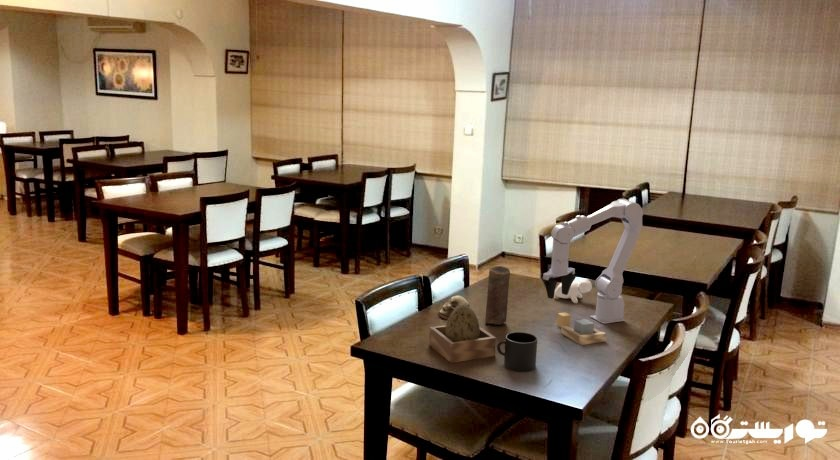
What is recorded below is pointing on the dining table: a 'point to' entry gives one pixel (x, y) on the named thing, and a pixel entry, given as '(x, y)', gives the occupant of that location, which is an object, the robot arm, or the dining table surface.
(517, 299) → the dining table surface
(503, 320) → the candle
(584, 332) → the tethered block
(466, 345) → the square wooden tray
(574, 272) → the robot arm
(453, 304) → the skull
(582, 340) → the lane
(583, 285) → the white animal figurine
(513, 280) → the dining table surface
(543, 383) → the dining table surface
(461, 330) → the decorative egg
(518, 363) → the mug
